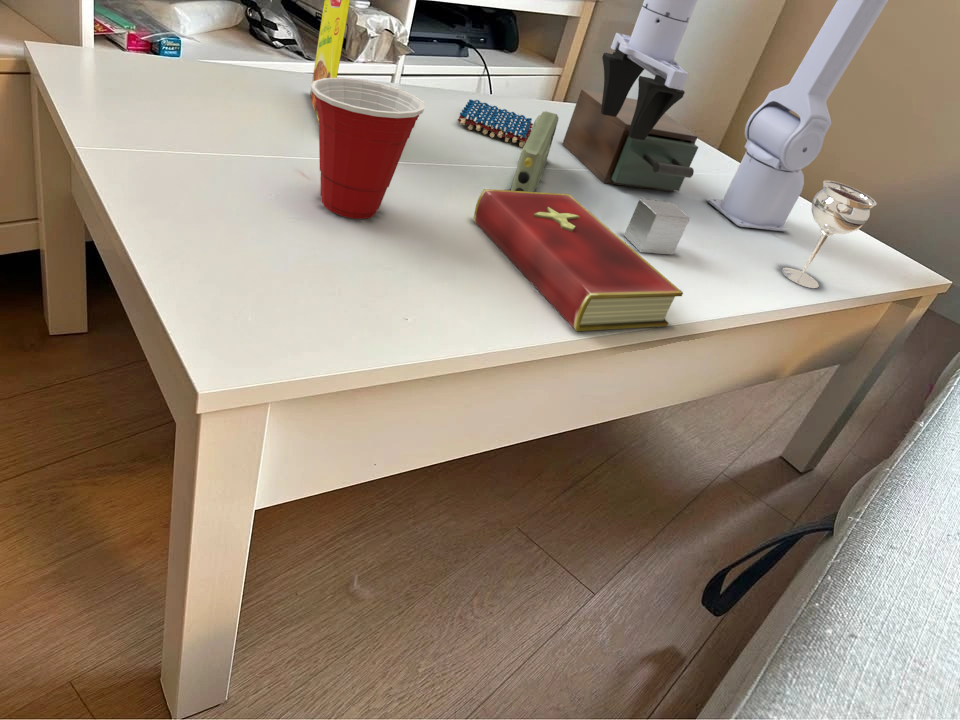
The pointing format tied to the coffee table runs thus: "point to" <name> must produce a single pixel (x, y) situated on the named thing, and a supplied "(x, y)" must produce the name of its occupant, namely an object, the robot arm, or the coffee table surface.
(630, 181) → the drawer
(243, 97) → the coffee table surface
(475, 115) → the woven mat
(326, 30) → the food package
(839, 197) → the wineglass
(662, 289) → the hardcover book
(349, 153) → the plastic cup
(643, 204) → the metal cube
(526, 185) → the handheld radio
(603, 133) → the cabinet
